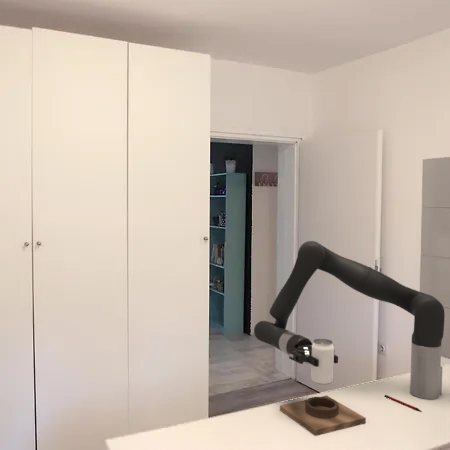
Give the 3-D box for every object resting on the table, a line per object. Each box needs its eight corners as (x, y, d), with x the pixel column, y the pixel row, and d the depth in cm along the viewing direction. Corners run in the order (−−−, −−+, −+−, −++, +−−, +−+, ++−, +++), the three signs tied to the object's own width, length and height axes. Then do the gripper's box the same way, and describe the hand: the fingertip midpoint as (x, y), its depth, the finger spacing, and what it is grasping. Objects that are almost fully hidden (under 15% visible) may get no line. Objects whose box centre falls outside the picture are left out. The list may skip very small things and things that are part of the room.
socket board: (326, 399, 161) (327, 387, 160) (365, 422, 144) (365, 409, 144) (279, 410, 153) (280, 397, 152) (315, 435, 136) (315, 421, 136)
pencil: (421, 413, 152) (421, 410, 152) (384, 398, 164) (384, 395, 164) (423, 413, 152) (423, 409, 152) (386, 397, 164) (386, 394, 164)
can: (331, 377, 151) (332, 338, 150) (334, 385, 144) (335, 345, 144) (310, 376, 152) (311, 337, 151) (311, 384, 145) (312, 344, 144)
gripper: (276, 336, 157) (307, 352, 142) (313, 331, 163) (347, 346, 148) (276, 360, 157) (307, 377, 142) (313, 354, 164) (346, 370, 149)
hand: (327, 361), depth 145 cm, fingers closed on can, 6 cm apart
